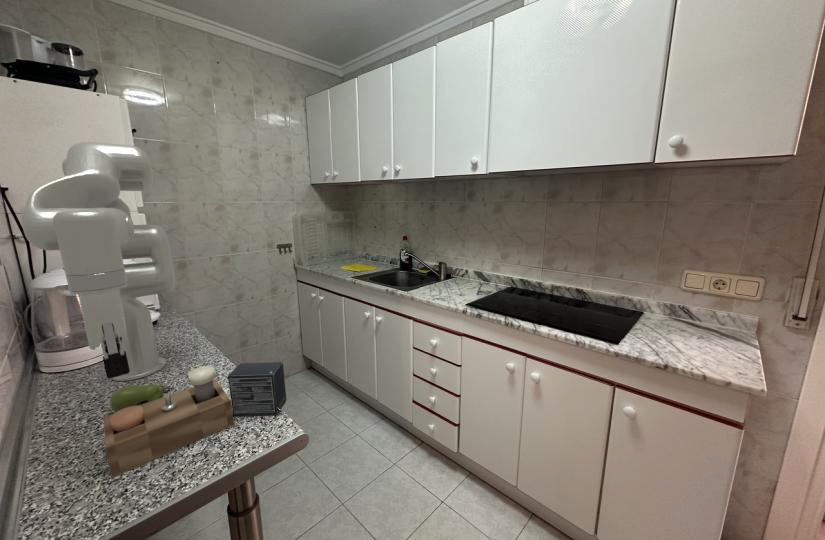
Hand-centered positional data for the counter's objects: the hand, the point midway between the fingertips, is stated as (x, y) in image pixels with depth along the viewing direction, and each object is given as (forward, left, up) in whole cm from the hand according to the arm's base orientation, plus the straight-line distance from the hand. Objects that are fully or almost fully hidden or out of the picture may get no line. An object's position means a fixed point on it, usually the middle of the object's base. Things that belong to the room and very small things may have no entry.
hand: (118, 374), depth 61 cm
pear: (-19, +2, -17) cm, 25 cm away
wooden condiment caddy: (0, +6, -16) cm, 18 cm away
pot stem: (0, +6, -10) cm, 12 cm away
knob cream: (0, +13, -12) cm, 18 cm away
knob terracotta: (0, 0, -16) cm, 16 cm away
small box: (+4, +23, -17) cm, 29 cm away
